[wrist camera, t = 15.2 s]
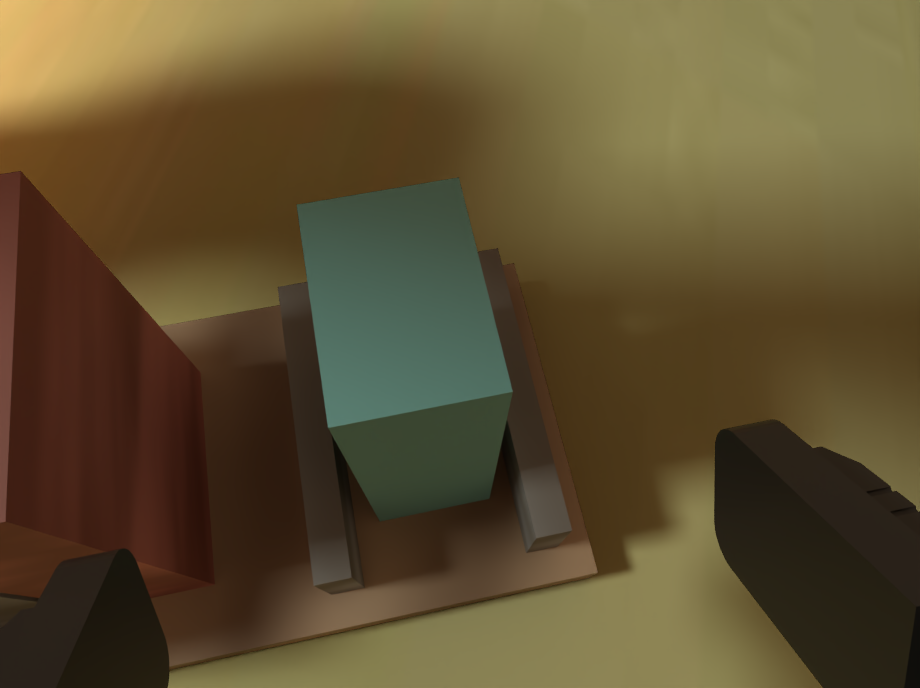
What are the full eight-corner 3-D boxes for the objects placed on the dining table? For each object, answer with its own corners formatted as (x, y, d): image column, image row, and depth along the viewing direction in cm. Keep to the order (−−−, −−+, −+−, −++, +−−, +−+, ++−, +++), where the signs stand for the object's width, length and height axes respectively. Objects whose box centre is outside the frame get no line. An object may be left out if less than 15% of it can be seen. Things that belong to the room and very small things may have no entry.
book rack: (-56, 719, 21) (-640, 790, 10) (-33, 381, 26) (-422, 160, 14) (589, 577, 23) (721, 500, 12) (510, 282, 28) (550, 16, 16)
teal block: (379, 521, 22) (328, 427, 13) (356, 374, 24) (296, 204, 15) (489, 498, 23) (513, 391, 14) (457, 355, 25) (459, 177, 16)
